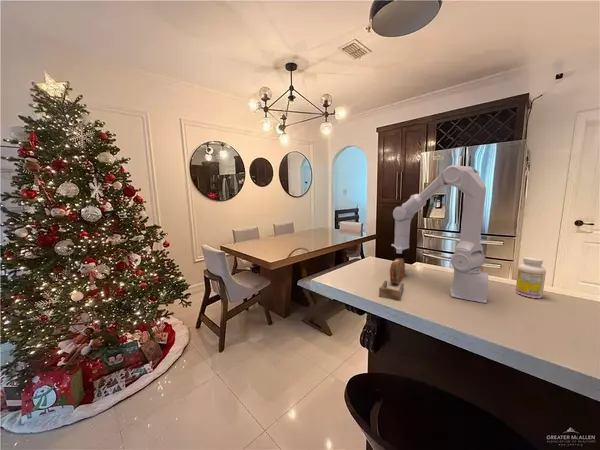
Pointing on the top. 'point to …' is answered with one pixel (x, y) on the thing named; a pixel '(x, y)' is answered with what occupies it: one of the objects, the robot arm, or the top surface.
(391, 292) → the dock
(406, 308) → the top surface
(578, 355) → the top surface
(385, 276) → the top surface
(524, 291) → the supplement bottle
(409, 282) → the top surface
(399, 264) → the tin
